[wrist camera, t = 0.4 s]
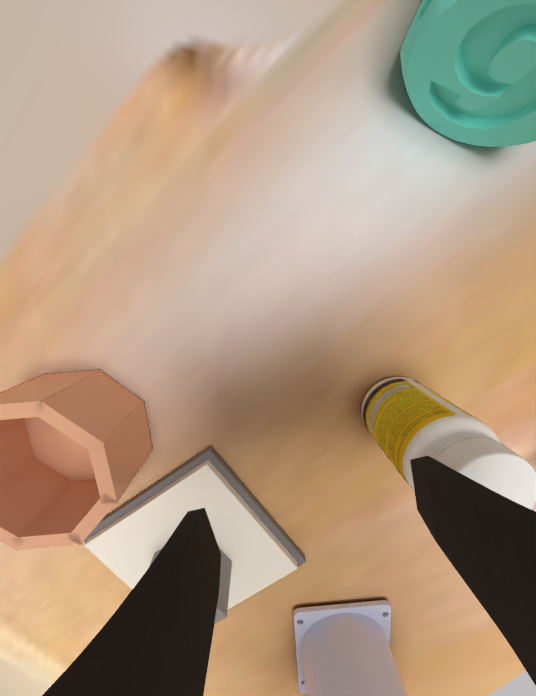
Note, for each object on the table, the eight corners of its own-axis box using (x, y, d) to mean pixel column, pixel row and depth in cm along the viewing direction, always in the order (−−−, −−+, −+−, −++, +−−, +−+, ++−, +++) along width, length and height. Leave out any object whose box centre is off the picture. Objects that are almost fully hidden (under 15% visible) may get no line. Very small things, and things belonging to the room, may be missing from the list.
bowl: (158, 478, 20) (126, 540, 15) (40, 488, 20) (-31, 554, 15) (137, 366, 18) (93, 395, 13) (6, 376, 18) (-87, 410, 13)
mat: (304, 555, 22) (305, 561, 22) (185, 626, 23) (183, 633, 23) (210, 445, 20) (209, 449, 19) (83, 530, 21) (79, 536, 20)
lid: (296, 560, 21) (305, 623, 17) (184, 626, 23) (168, 700, 19) (208, 458, 19) (194, 504, 15) (89, 538, 20) (47, 599, 16)
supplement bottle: (351, 431, 20) (416, 536, 12) (370, 369, 19) (456, 435, 11) (415, 443, 20) (522, 552, 12) (436, 382, 19) (570, 455, 11)
